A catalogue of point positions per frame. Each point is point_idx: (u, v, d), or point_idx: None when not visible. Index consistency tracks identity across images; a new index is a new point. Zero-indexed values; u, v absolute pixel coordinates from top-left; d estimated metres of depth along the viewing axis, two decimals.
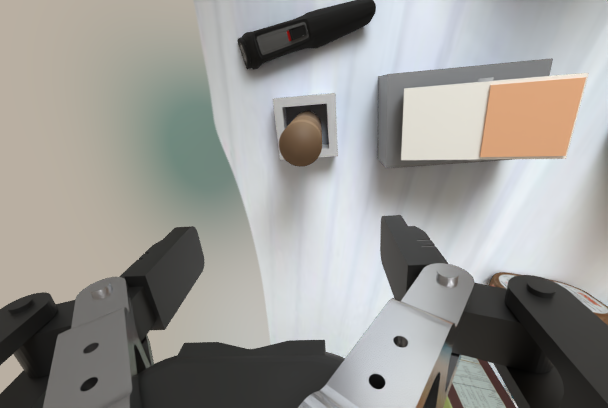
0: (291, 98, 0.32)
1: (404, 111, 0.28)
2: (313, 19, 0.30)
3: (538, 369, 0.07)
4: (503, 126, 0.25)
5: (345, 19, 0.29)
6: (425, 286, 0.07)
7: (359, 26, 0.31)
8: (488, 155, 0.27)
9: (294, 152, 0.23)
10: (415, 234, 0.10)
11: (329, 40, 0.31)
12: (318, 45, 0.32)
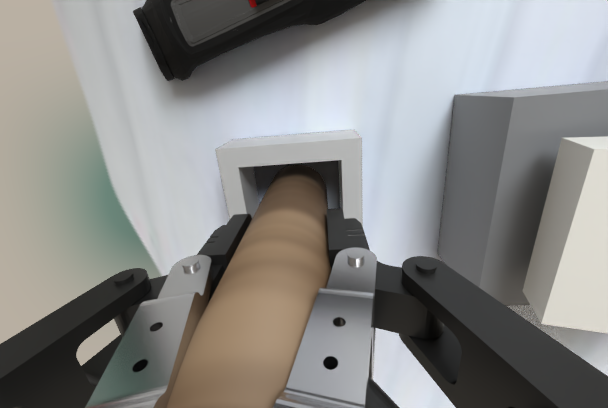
0: (258, 148, 0.14)
1: (579, 211, 0.09)
2: None
3: (435, 334, 0.08)
4: None
5: None
6: (334, 266, 0.08)
7: None
8: None
9: None
10: (351, 225, 0.11)
11: (351, 3, 0.13)
12: (324, 16, 0.13)
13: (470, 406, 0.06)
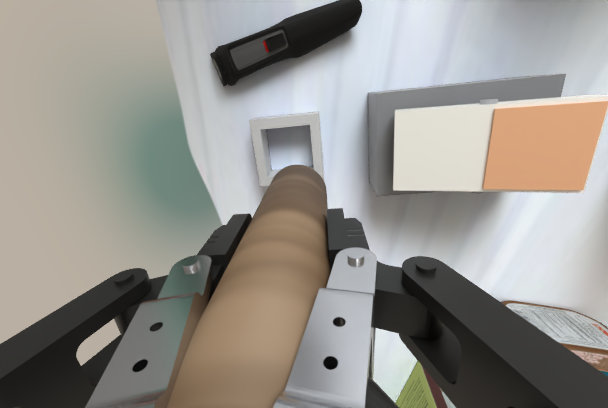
0: (270, 119, 0.29)
1: (395, 137, 0.24)
2: (291, 26, 0.26)
3: (435, 334, 0.08)
4: (510, 155, 0.22)
5: (328, 23, 0.26)
6: (334, 266, 0.08)
7: (345, 29, 0.27)
8: (492, 187, 0.23)
9: None
10: (351, 225, 0.11)
11: (312, 48, 0.28)
12: (300, 54, 0.28)
13: (470, 406, 0.06)
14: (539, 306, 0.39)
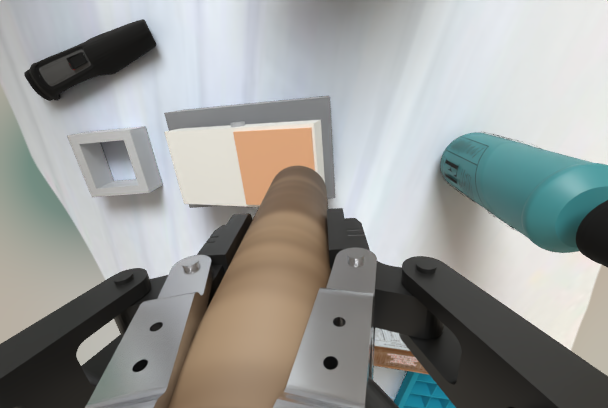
0: (86, 135, 0.30)
1: (171, 154, 0.26)
2: (88, 46, 0.28)
3: (435, 334, 0.08)
4: (256, 174, 0.24)
5: (120, 43, 0.27)
6: (334, 266, 0.08)
7: (145, 49, 0.28)
8: (252, 203, 0.25)
9: None
10: (351, 225, 0.11)
11: (120, 65, 0.29)
12: (110, 71, 0.30)
13: (470, 406, 0.06)
14: None
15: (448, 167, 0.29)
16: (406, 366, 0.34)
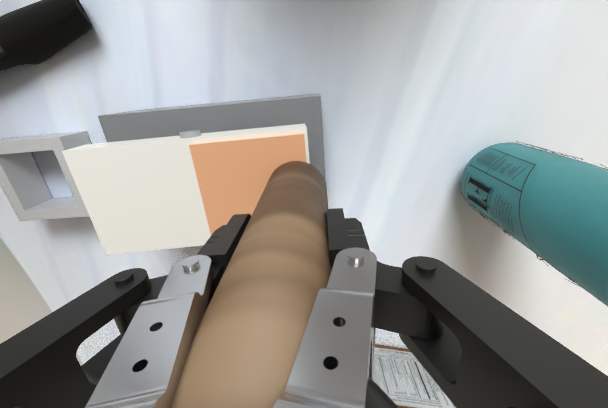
0: (3, 143, 0.23)
1: (78, 185, 0.17)
2: None
3: (435, 334, 0.08)
4: (226, 200, 0.17)
5: (39, 23, 0.20)
6: (334, 266, 0.08)
7: (76, 31, 0.21)
8: None
9: None
10: (351, 225, 0.11)
11: (45, 53, 0.22)
12: (33, 60, 0.22)
13: (470, 406, 0.06)
14: (391, 349, 0.34)
15: (473, 187, 0.22)
16: None
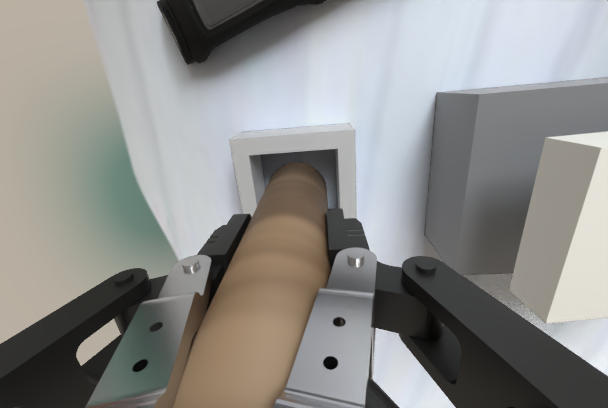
0: (266, 138, 0.16)
1: (584, 210, 0.09)
2: None
3: (435, 334, 0.08)
4: None
5: None
6: (334, 266, 0.08)
7: None
8: None
9: None
10: (351, 225, 0.11)
11: None
12: None
13: (470, 406, 0.06)
14: None
15: None
16: None
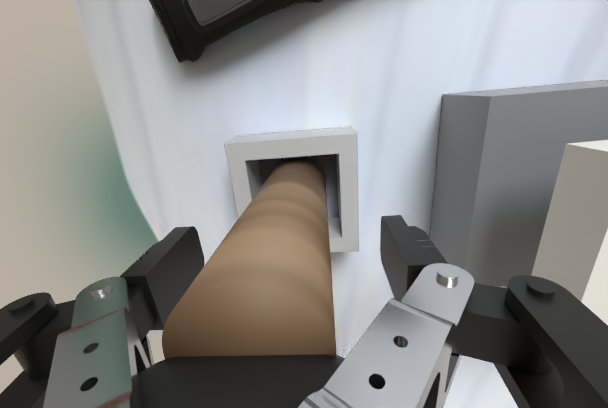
0: (263, 143, 0.15)
1: None
2: None
3: (538, 369, 0.07)
4: None
5: None
6: (425, 286, 0.07)
7: None
8: None
9: None
10: (415, 234, 0.10)
11: None
12: None
13: None
14: None
15: None
16: None
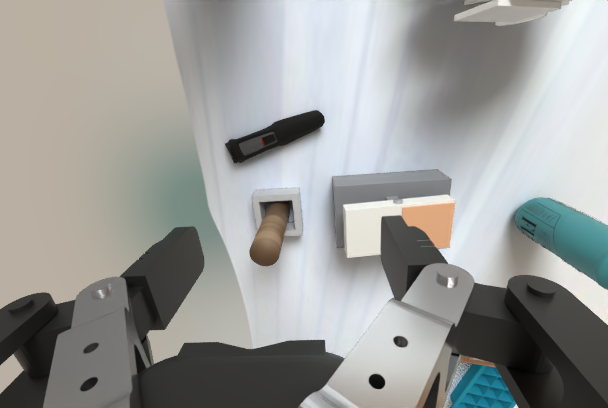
0: (265, 196, 0.43)
1: (347, 225, 0.36)
2: (279, 129, 0.40)
3: (538, 369, 0.07)
4: None
5: (303, 128, 0.39)
6: (425, 286, 0.07)
7: (315, 129, 0.40)
8: None
9: (260, 257, 0.34)
10: (415, 235, 0.10)
11: (294, 139, 0.41)
12: (286, 143, 0.42)
13: None
14: None
15: (525, 222, 0.41)
16: (484, 362, 0.47)
